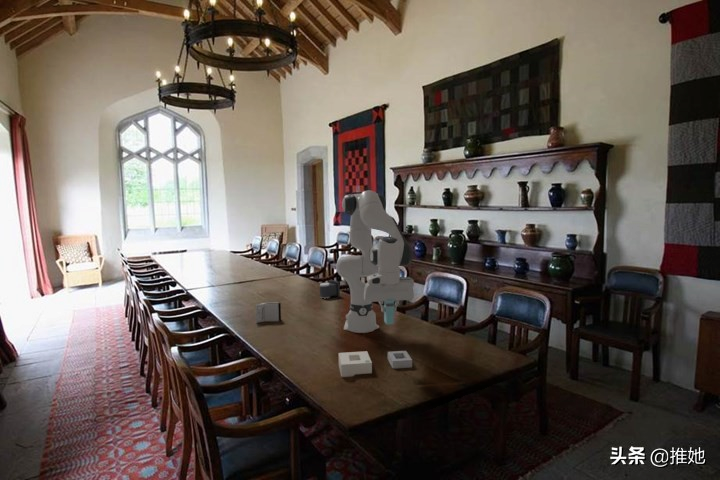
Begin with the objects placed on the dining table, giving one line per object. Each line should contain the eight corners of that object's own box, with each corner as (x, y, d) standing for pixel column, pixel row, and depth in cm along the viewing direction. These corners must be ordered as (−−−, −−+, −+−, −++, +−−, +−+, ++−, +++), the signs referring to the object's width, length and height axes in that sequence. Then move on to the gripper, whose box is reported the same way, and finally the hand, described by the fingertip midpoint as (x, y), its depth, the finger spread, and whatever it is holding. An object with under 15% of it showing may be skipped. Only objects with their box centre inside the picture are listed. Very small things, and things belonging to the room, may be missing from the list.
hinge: (255, 323, 226) (255, 305, 225) (255, 320, 231) (255, 303, 230) (281, 321, 229) (280, 303, 228) (280, 318, 234) (280, 301, 233)
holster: (387, 360, 173) (387, 351, 172) (405, 359, 174) (405, 350, 174) (392, 370, 163) (392, 361, 163) (412, 369, 164) (412, 359, 164)
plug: (384, 321, 167) (384, 297, 166) (391, 320, 168) (391, 297, 167) (386, 324, 163) (386, 300, 162) (393, 324, 163) (394, 299, 162)
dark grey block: (316, 298, 284) (315, 282, 282) (331, 294, 292) (330, 279, 291) (325, 301, 276) (324, 285, 274) (341, 296, 284) (340, 281, 282)
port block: (338, 364, 169) (338, 352, 168) (367, 362, 171) (367, 350, 170) (341, 377, 157) (341, 364, 157) (371, 375, 159) (371, 362, 158)
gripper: (411, 275, 168) (411, 307, 170) (362, 277, 165) (363, 310, 166) (416, 278, 162) (415, 312, 163) (365, 280, 159) (365, 314, 160)
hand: (388, 311), depth 165 cm, fingers closed on plug, 3 cm apart
